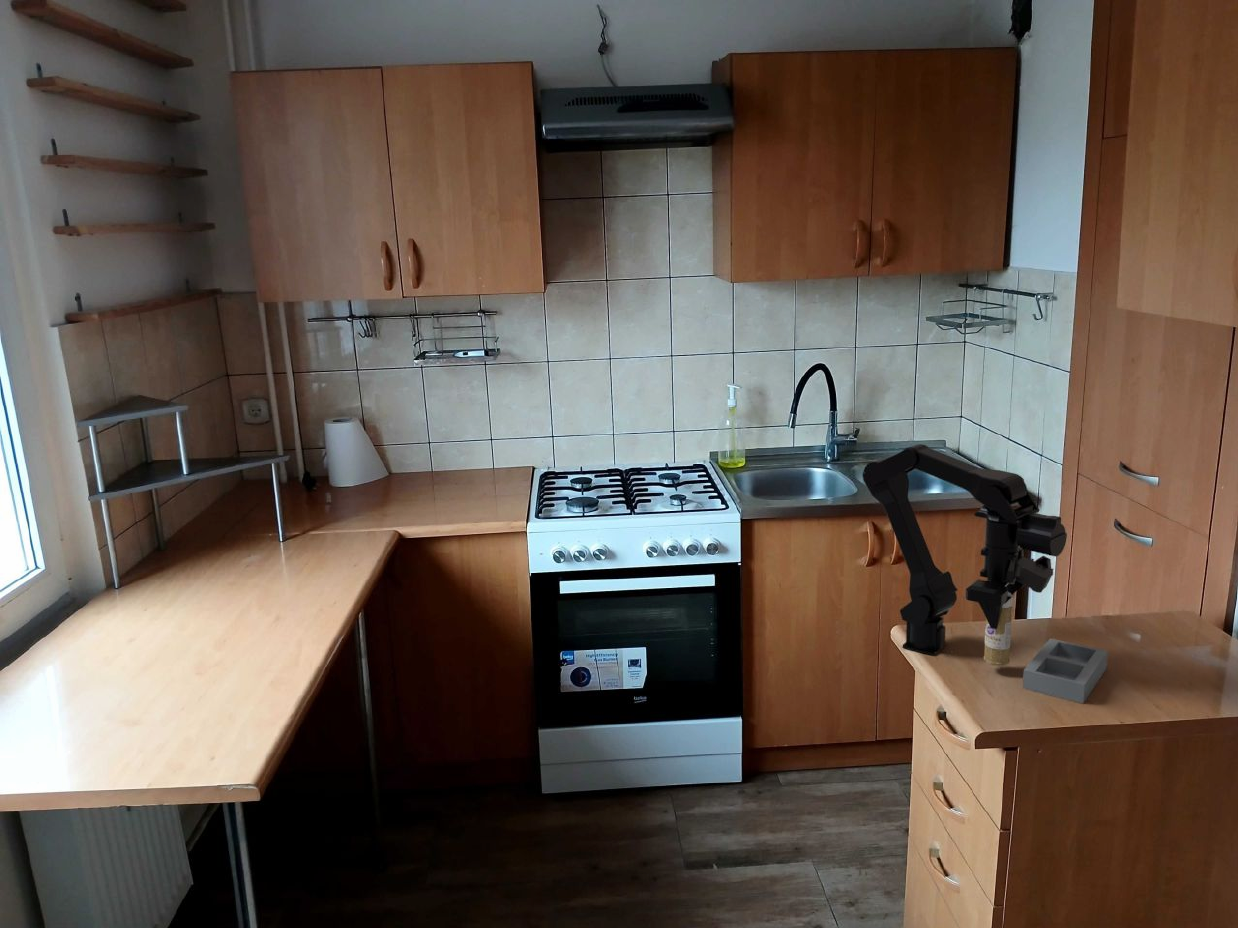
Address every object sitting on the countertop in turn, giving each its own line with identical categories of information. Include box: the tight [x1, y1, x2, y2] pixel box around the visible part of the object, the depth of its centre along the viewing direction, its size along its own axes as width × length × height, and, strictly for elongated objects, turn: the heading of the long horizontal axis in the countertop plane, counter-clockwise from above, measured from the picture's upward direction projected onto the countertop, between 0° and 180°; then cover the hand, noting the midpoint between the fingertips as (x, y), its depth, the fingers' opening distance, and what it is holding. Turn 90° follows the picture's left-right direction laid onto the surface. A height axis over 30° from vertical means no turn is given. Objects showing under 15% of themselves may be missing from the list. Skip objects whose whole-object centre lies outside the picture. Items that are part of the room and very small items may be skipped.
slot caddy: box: [1022, 638, 1108, 704], centre depth 167 cm, size 10×16×4 cm, turn 140°
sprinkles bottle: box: [983, 592, 1014, 667], centre depth 170 cm, size 5×5×14 cm
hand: (998, 623), depth 170 cm, fingers closed on sprinkles bottle, 4 cm apart
